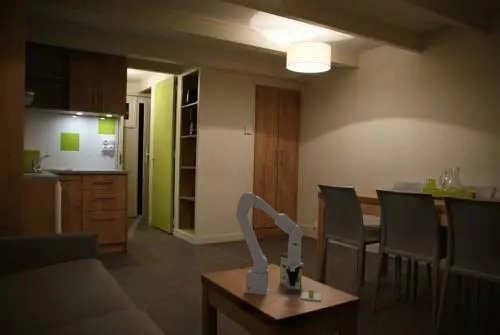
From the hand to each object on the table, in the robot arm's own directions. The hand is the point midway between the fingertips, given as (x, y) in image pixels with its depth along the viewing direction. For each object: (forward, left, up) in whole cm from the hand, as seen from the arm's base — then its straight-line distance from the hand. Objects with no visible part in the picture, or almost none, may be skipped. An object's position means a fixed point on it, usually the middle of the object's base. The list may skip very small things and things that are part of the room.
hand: (293, 283), depth 167 cm
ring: (0, 0, -1) cm, 1 cm away
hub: (+8, -5, -4) cm, 10 cm away
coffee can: (-2, +13, -4) cm, 14 cm away
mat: (0, 0, -4) cm, 4 cm away
